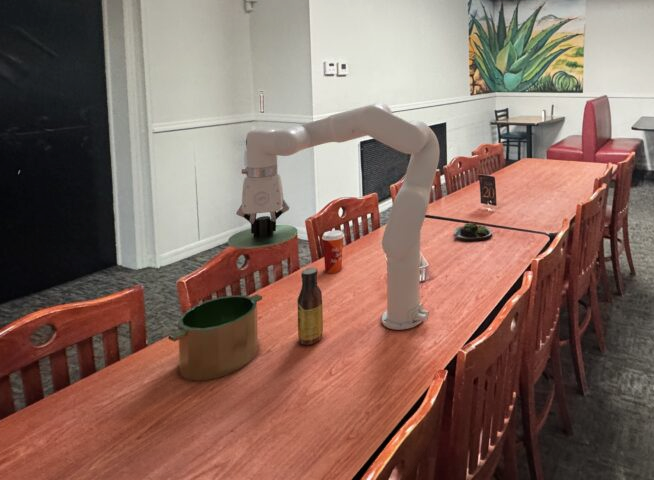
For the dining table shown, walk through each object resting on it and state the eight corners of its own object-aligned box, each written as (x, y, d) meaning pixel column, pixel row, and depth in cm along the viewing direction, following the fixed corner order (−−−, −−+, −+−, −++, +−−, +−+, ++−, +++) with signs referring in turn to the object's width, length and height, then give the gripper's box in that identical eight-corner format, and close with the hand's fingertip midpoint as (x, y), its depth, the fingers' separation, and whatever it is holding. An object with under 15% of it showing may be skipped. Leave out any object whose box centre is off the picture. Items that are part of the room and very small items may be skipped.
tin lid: (310, 233, 134) (310, 213, 133) (255, 255, 118) (255, 232, 117) (270, 225, 141) (270, 205, 141) (213, 244, 125) (213, 222, 125)
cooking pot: (280, 344, 121) (279, 299, 121) (193, 396, 102) (192, 342, 101) (240, 328, 128) (240, 286, 128) (152, 374, 109) (151, 324, 108)
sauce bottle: (303, 333, 126) (302, 264, 126) (326, 332, 127) (325, 264, 126) (294, 347, 120) (293, 275, 119) (318, 346, 121) (317, 274, 120)
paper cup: (336, 275, 163) (336, 237, 162) (317, 273, 164) (317, 235, 164) (348, 266, 171) (348, 230, 170) (330, 264, 172) (330, 228, 171)
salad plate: (450, 228, 214) (450, 218, 214) (487, 225, 218) (487, 216, 218) (453, 242, 196) (454, 232, 195) (494, 240, 200) (494, 229, 199)
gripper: (226, 176, 122) (227, 242, 123) (293, 172, 128) (294, 235, 129) (232, 171, 129) (234, 233, 130) (295, 167, 135) (296, 227, 136)
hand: (263, 234), depth 129 cm, fingers closed on tin lid, 3 cm apart
